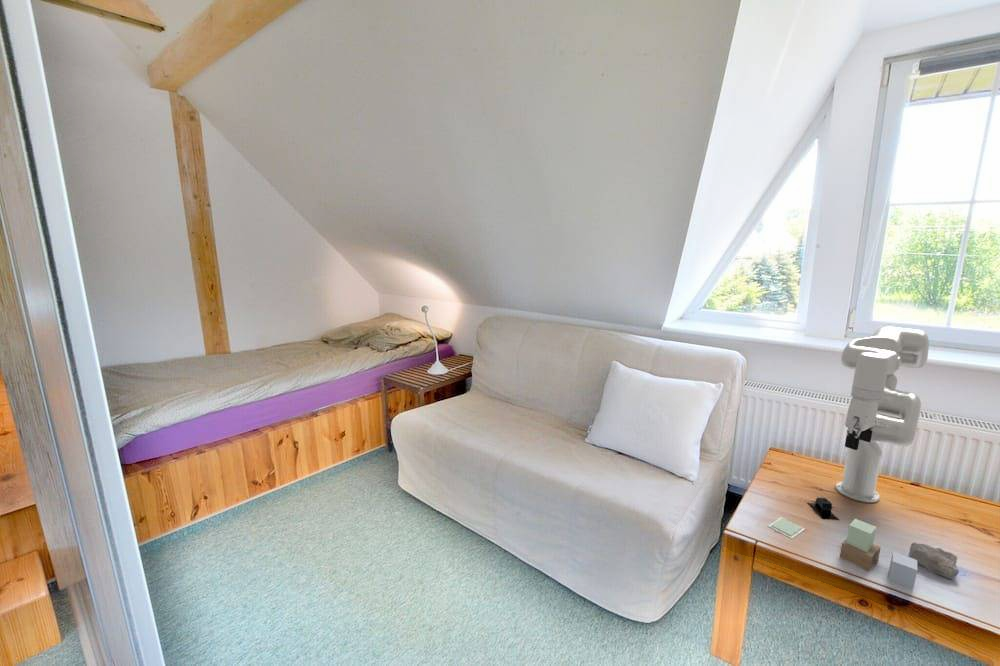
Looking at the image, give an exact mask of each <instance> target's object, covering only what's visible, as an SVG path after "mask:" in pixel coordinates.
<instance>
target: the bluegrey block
mask: <svg viewBox="0 0 1000 666" xmlns="http://www.w3.org/2000/svg"><path fill="white" fill-rule="evenodd" d="M888 568H889V569H888V581H890V582H894V583H896V584H899V585H901V586H903V587H906V588H908V589H912V590H914V588H915V582H916V578H917V573H918V563H917V560H915V559H913V558H910V557H909V556H906V555H904V554H901V553H898V552H895V551H892V554H891V561H890V564H889V567H888Z"/></svg>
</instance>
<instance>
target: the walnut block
mask: <svg viewBox="0 0 1000 666" xmlns="http://www.w3.org/2000/svg"><path fill="white" fill-rule="evenodd" d="M846 540H847V538H846V539H844V540H843V541H842V542H841V547H840V552H839V558H841V559H842V560H844V561H846V562H849V563H850V564H853V565H855V566H856V567H859V568H860V569H862V570H864V571H866V572H868V573H869V572H870V571H871V570H872V569H873V568H874V567H875V566H874V565H877V564H878V563H879V558H880V554H881V548H882V547H881V546H879V545H877V544H875V543H873V546H872V547H871V549H870V550H869V551H868V552H865V551H863V550H860V549H858V548H856V547H854V546H852V545H849V544H847V543H846Z"/></svg>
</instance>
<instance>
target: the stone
mask: <svg viewBox="0 0 1000 666" xmlns="http://www.w3.org/2000/svg"><path fill="white" fill-rule="evenodd" d="M909 547H910V548H909V552H908V557H910V558H913V559H915V560H917V565H918V564H919V565H921V566H922V567H924V568H925V569H926V570H928V571H930V572H932V573H933V574H936V575H940V576H941V577H945V578H946V579H949V580H952V579H955V578H956V577H957V576H958V574H959V572H960V570H959V569H958V565H957V561H958V556H957V555H956V554H953V553H952V552H949V551H945V550H944V549H942V548H941V547H934V546H933V547H932V546H930V545H928V544H925V543H916V542H912V543H911V545H910V546H909Z"/></svg>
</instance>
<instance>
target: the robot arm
mask: <svg viewBox="0 0 1000 666" xmlns="http://www.w3.org/2000/svg"><path fill="white" fill-rule="evenodd" d="M929 347H930V340H929V337H928V335H927V333H926V332H925V331H923V330H921V329H912V328H906V327H905V328H904V327H903V328H902V327H896V326H883V327H880V328H878V329H877V330H875V331H874V333H873V334H872V335H871V336H870V337H863V338H856V339H852V340H850V341H849V342H848V343H847V344H846V345H845V347H844V348H843V351H842V353H841V364H842V365H843V366H844V367H845V368H846V369H847V368H848V369H852V370H854V373H853V374H854V375H853V378H852V379H853V380H852V386H851V391H850V396H851V400H850V402H849V406H848V409H847V413H846V417H845V421H844V426H845V427H846V428H847V429H846V436H845V442H844V447H845V448H847V451H846V458H845V463H844V468H843V473H842V474H843V475H842V480H841V481H838V482H836V484H835V489H836V491H838V493H840V494H841V495H843V496H844V497H847V498H849V499H852V500H855V501H859V502H862V503H877V502H879V500H880V497H881V495H880V494H879V493H878V491H876V487H877V482H878V478H879V473H880V472H879V471H880V467H881V462H882V457H883V451H882V449H881V446H880V445H879V443H878V442H881V443H884V444H889V445H894V446H896V447H897V446H898V447H903V448H907V447H910V446H911V445H912V444H913V443H914V440H915V437H916V432H917V429H918V428H917V427H918V424H919V418H920V413H921V408H922V401H921V399H920V397H919V396H918V395H917V394H915V393H913V392H908V391H904V390H898V389H896V388H897V384H898V378H897V377H896V375H895V374H894V373H896V372H897V371H898V370H900V367H904V368H910V369H911V368H912V369H920V368H922V367H924V366H925V365H926V364H927V362H928V356H929Z"/></svg>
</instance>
